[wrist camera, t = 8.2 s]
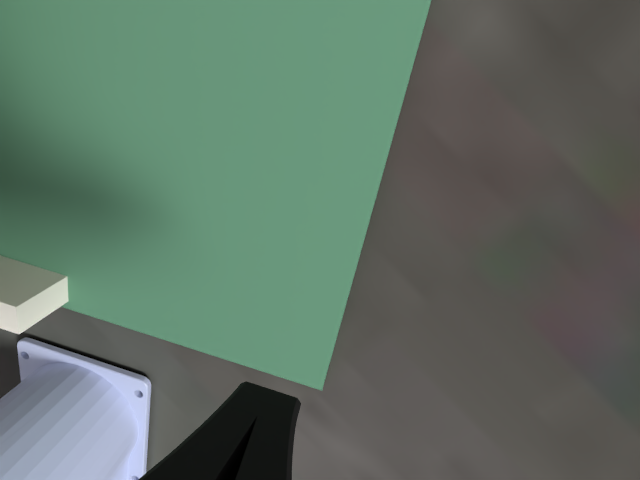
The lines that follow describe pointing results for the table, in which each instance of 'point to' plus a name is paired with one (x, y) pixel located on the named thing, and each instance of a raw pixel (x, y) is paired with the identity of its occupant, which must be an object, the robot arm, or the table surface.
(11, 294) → the white angular frame
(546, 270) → the table surface
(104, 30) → the green mat
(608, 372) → the table surface
